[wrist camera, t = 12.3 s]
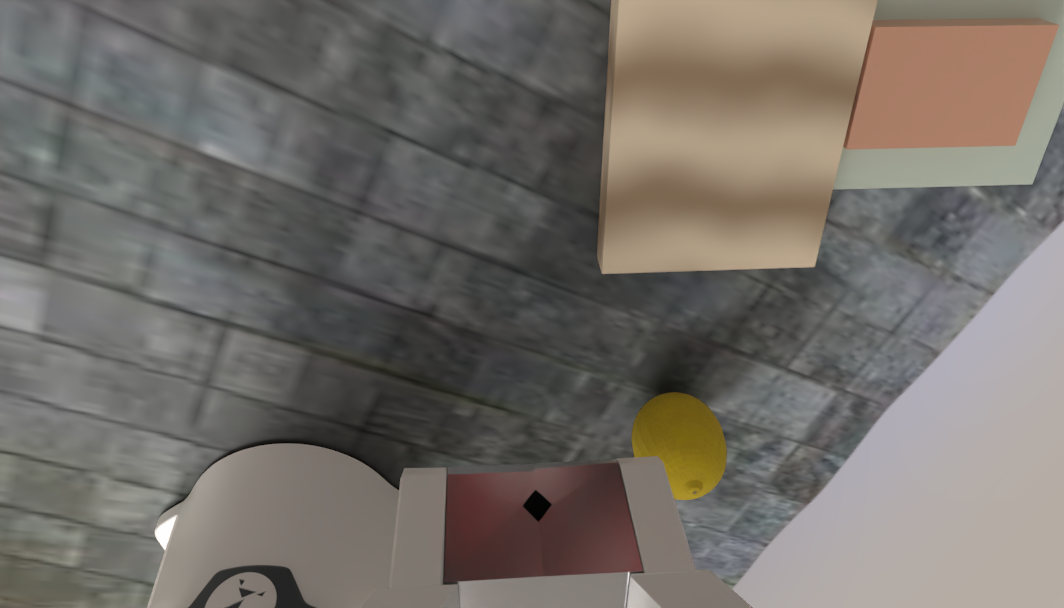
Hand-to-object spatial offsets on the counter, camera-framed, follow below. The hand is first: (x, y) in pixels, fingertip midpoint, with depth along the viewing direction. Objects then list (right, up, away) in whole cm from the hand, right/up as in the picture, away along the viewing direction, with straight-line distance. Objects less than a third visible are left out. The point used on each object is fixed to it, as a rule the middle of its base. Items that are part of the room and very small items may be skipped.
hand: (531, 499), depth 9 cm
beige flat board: (+10, +14, +29) cm, 34 cm away
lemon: (+9, -4, +40) cm, 42 cm away
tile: (+20, +14, +29) cm, 38 cm away
